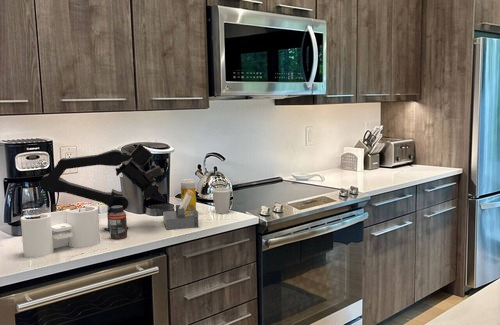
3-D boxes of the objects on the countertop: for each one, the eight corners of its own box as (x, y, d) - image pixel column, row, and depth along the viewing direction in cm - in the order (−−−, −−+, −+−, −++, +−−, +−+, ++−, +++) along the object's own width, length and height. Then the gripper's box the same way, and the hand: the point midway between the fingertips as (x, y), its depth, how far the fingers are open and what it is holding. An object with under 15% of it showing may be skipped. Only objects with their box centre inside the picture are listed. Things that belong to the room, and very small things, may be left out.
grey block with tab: (166, 229, 185) (166, 211, 184) (163, 221, 199) (162, 204, 198) (198, 227, 188) (197, 209, 188) (193, 219, 202) (192, 202, 201)
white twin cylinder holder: (30, 260, 153) (27, 221, 151) (19, 253, 160) (17, 216, 159) (105, 243, 169) (103, 209, 168) (93, 238, 177) (91, 204, 175)
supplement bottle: (120, 234, 181) (119, 204, 179) (130, 236, 177) (129, 205, 175) (106, 237, 176) (105, 206, 175) (116, 240, 172) (115, 208, 171)
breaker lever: (179, 211, 190) (189, 191, 191) (178, 209, 195) (188, 189, 195) (183, 213, 191) (193, 193, 191) (181, 210, 196) (191, 190, 196)
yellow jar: (179, 214, 210) (177, 180, 209) (190, 212, 215) (188, 178, 213) (188, 216, 206) (187, 181, 205) (199, 214, 211) (198, 179, 209)
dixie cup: (235, 212, 212) (234, 189, 211) (218, 215, 208) (217, 192, 206) (225, 209, 219) (225, 187, 218) (209, 211, 215) (208, 189, 213)
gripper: (151, 161, 179) (182, 190, 183) (148, 156, 197) (176, 182, 201) (130, 184, 178) (162, 212, 182) (128, 177, 195) (157, 202, 200)
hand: (165, 201), depth 191 cm, fingers closed
